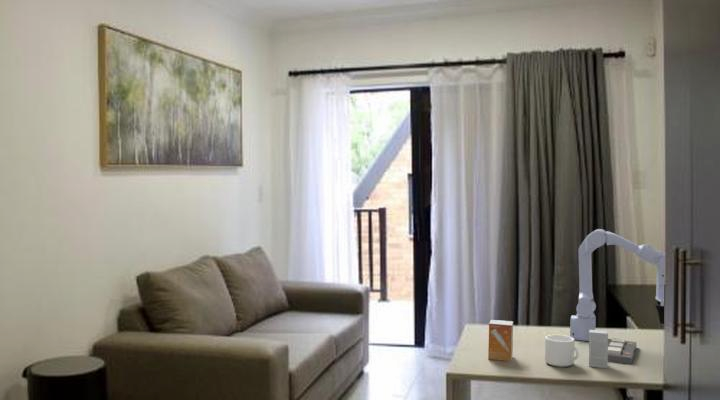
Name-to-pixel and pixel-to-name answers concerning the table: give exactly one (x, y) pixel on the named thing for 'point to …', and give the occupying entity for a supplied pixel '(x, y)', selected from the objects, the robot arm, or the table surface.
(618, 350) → the key outer
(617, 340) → the key inner
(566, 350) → the mug
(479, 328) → the table surface
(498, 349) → the small box
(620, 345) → the key middle
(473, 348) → the table surface
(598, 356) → the skincare box
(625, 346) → the keypad frame
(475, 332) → the table surface
